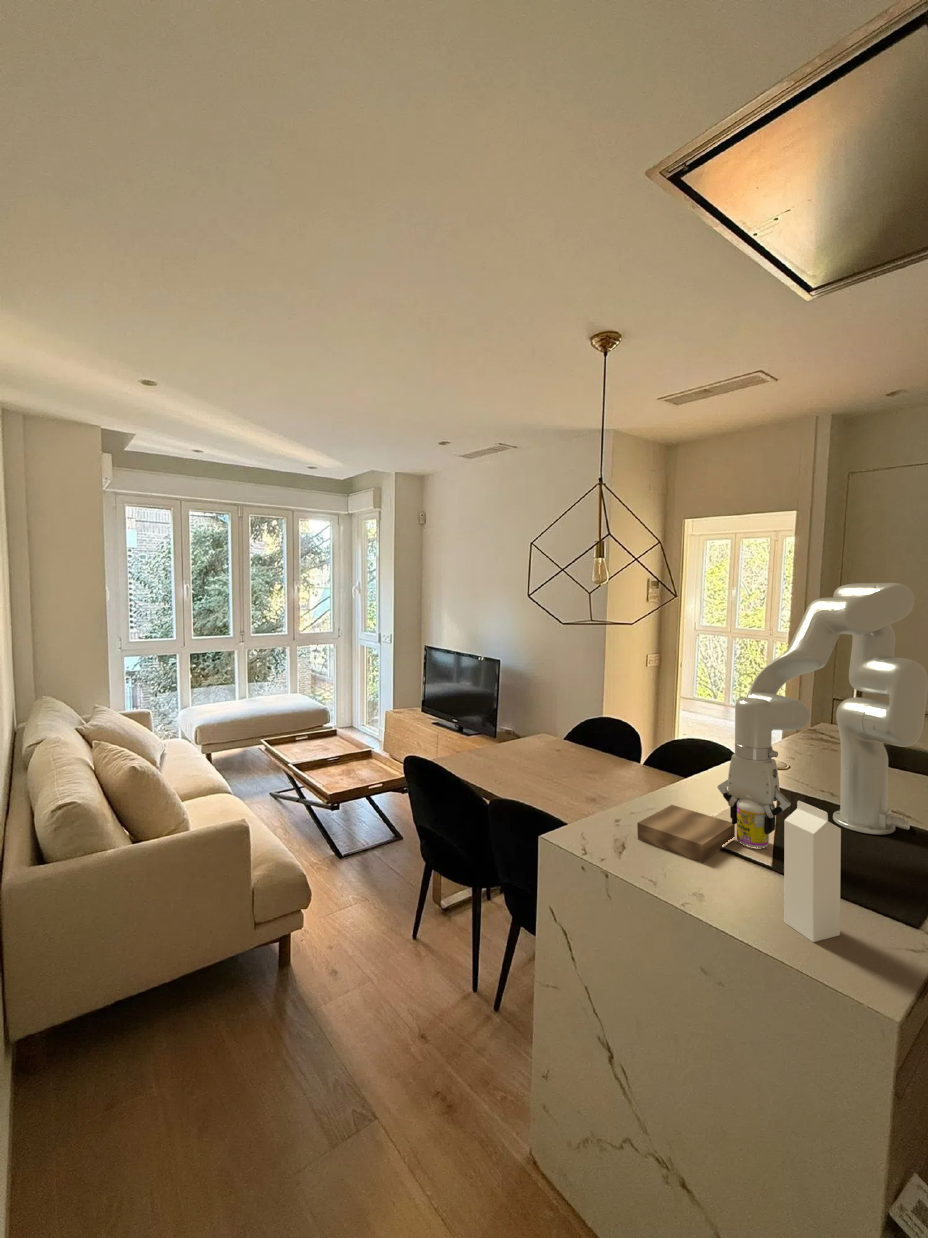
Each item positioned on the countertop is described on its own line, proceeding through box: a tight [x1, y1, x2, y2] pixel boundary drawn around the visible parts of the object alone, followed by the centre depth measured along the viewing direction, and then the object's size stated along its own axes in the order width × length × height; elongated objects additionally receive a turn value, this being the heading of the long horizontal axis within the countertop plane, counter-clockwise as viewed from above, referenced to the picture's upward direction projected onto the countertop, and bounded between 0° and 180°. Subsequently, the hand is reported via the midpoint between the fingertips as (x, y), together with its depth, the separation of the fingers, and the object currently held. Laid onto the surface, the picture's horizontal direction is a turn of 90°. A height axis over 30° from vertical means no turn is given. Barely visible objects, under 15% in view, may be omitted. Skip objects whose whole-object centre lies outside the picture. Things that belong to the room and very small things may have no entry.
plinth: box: [636, 804, 736, 863], centre depth 132 cm, size 16×16×4 cm
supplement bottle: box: [736, 795, 770, 848], centre depth 129 cm, size 7×7×13 cm
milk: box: [783, 800, 842, 943], centre depth 97 cm, size 6×6×22 cm
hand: (752, 826), depth 129 cm, fingers closed on supplement bottle, 6 cm apart
